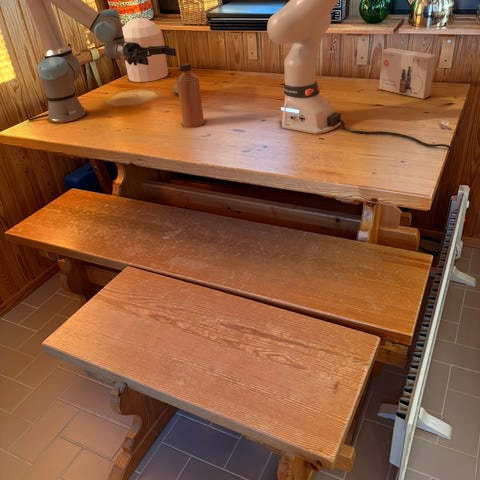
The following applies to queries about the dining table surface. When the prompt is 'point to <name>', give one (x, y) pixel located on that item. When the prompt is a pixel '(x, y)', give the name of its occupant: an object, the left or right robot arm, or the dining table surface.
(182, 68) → the cap
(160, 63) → the container
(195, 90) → the bottle
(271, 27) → the right robot arm
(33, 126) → the dining table surface
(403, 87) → the skincare box
